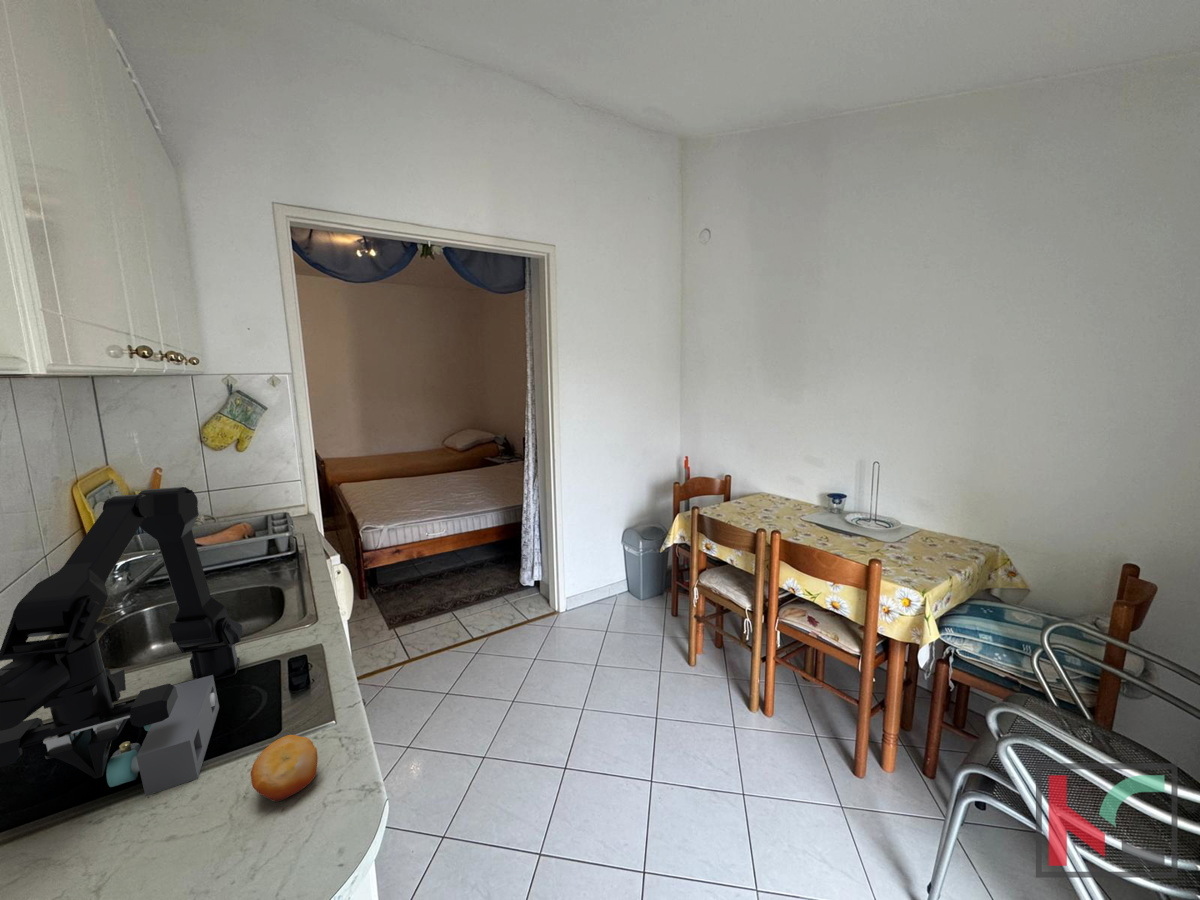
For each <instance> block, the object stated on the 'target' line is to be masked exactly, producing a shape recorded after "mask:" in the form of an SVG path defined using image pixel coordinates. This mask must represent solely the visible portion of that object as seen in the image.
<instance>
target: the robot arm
mask: <svg viewBox="0 0 1200 900" xmlns="http://www.w3.org/2000/svg"><path fill="white" fill-rule="evenodd" d="M198 503H199V501H198V497H197V495H196V494H195V492H194V490H193V489H189V488H188V487H185V486H178V487H165V488H163V487H162V488H149V489H148V488H147V489H143V490H141V491H139V492H138V494H123V495H114V496H112V497H110V498H107V499H106V500H105V501H104V503H103V505H102V511H101V513H100V515H99V516H98V517H97V519H96V520H95V521H94V523H93V525H92V526H91V527H90V529H89V530H88V531H87V532H86V534H85V535H84V537H83V538H82V540H81V541H80V542H79V544H78V545H77V546H76V548H75V550H73V553H72V554H71V555H70V556H69V558H68V560H66V562H65V563H64V565H63V566H61V568H60V569H59V570H58V571H57V572H55V573H53V574H51V575H49V576H48V577H46V578H45V579H42V580H41V581H39V582H38V583H36V584H35V586H33V587H32V588H31V589H30V590H29V591H28V592H27V594H25V595H24V596H23V598H22V599H20V600H19V602H18V603H17V605H16V606H15V608H14V609H13V612H12V616H11V619H10V621H9V625H8V627H7V631H6V633H5V635H4V638H3V641H2V644H1V647H0V662H3V661H10V660H12V661H11V662H9V663H7V664H5V665H4V666H2V667H0V768H2V767H6V766H9V765H13V764H14V763H15V762H17V760H19V758H20V757H21V756H22V755H23V753H24V752H23V749H22V748H24V747H28V746H32V745H35V744H38V743H39V744H40V743H42V742H43V743H42V744H44V745H45V746H46V750H47V751H46V752H45V754H44V757H45V759H46V760H48V759H53V758H55V759H58V760H60V761H63V762H65V763H66V764H67V763H68V764H70V765H72V766H74V767H75V768H77V769H79V770H80V771H82V772H84V774H87V775H88V776H90V777H92V778H93V779H98V778H101V777H103V776H104V774H105V772H106V769H107V765H108V760H109V759H108V758H109V753H110V749H111V745H112V742H113V741H114V740H116V739H117V738H118V737H119V736H120V734H121V732H122V730H124V729H123V728H124V726H125V725H126V723H127V721H128V720H129V721H130V725H132V726H135V727H138V728H142V727H143V728H144V726H147V725H150V724H154V723H157V722H161V721H163V720H165V719H167V718H168V717H169V716H170V714H171V711H172V709H173V707H174V705H175V702H176V700H177V698H178V695H177V690H176V687H175V686H173V685H174V684H171V683H169V682H168V683H165V684H162V685H157V686H153V687H149V688H146V689H142V690H140V691H139V693H138V694H137V696H136V698H135V700H134V701H132V702H128V703H126V702H125V701H123V702H121V703H117V704H114V703H116V702H118V701H119V700H120V698H121V692H124V691H126V689H127V687H126V685H127V684H126V675H125V674H126V673H125V672H126V671H125V668H122V669H117V670H113V671H111V669H109V667H105V665H104V661H103V657H102V653H101V649H100V645H99V640H98V636H97V635H99V634H101V633H102V632H103V631H105V630H106V629H107V628H108V626H109V625H108V623H107V622H102V621H101V622H100V621H98V620H99V617H100V615H101V613H102V611H103V608H104V606H105V604H106V602H107V599H108V597H109V594H108V591H107V586H106V582H107V580H108V578H109V575H110V574H111V572H112V571H113V569H114V568H115V566H116V564H117V563H118V561H119V560H120V558H121V556H122V555H123V553H124V552H125V551H126V548H127V547H128V546H129V544H130V542H131V541H132V540H133V537H135V534H136V533H137V531H138V530H139V528H140V529H141V530H142V531H143V532H145V533H146V534H147V535H149V536H150V537H151V538H153V539H155V540H156V542H157V545H158V548H159V551H160V554H161V557H162V560H163V561H162V562H163V563H164V567H165V570H166V573H167V576H168V579H169V582H170V587H171V589H172V592H173V596H174V598H175V601H176V604H177V609H178V610H177V613H175V616H174V619H173V621H172V622H171V623H170V624H169V625H168V629H169V631H170V633H171V637H172V643H175V645H176V646H177V647H178V649H179V650H180V652H181V654H187V653H191V656H190V659H189V664H190V665H189V666H190V670H191V674H192V675H191V676H192V679H193V680H195V679H199V678H203V677H206V676H210V675H213V677H214V682H215V681H219V680H222V679H226V678H229V677H230V678H231V677H234V676H236V674H237V672H238V667H239V666H240V665H239V663H240V660H241V658H240V657H238V654H237V650H236V645H235V644H238V643H240V642H241V641H242V640H241V637H242V636H243V625H242V624H241V623H240V622H238V621H235V620H233V618H230V616H229V613H228V611H227V609H226V607H225V605H223V604H222V603H220V602H219V601H218V600H216V599H215V598H213V597H212V595H211V593H210V588H209V585H208V582H207V578H206V575H205V572H204V569H203V568H204V567H203V565H202V560H201V558H200V554H199V551H198V547H197V544H196V540H195V536H194V534H193V528H194V526H195V523H196V522H197V520H198V517H199V516H200V515H199V510H198V509H199V508H198V507H199V506H198ZM56 635H58V636H57V637H55V638H48V639H40V640H31V641H28V639H29V638H38V637H45V636H56ZM42 707H43V709H44V710H45V709H49V710H50V713H51V717H52V721H53V723H49V724H45V725H44V722H43V719H42V718H39V717H34V718H30V719H28V718H29V717H30V716H32V715H33V714H35V713H36V712H37V711H38V710H39V709H41V708H42ZM26 719H27V720H26ZM92 729H93V732H94V733H93V735H92Z"/></svg>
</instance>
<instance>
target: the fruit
mask: <svg viewBox="0 0 1200 900" xmlns="http://www.w3.org/2000/svg"><path fill="white" fill-rule="evenodd" d="M318 759H319V757H318V749H317V747H315V745H314V743H313V741H312V740H311V739H310V738H308V737H306V736H301V735H296V734H288V735H285V736H282V737H280V738H278V739H276V740H274V741H273V742H272V743H270V744H269V745H268V746H267V747H266V748H264V749H263V750H262V751H261V752H260V753H259V755H258V756H257V758H256V759H255V761H254V762H253V764H252V767H251V769H250V778H251V779H250V780H251V781H250V782H251V786H252V788H253V789H254V790H255V791H256V792H257V793H258V794H260V795H261V796H263V797H265V798H266V799H268V800H270V801H272V802H281V801H283V800H286V799H288V798H289V797H292V796H293V795H295V794H297V793H299V792H300V791H302V790H303V789H305V787H308V785H309V784H310V783H311V782H312V781H313V780H314V778H315V777H316V774H317V772H318V771H317V770H318V761H319V760H318Z"/></svg>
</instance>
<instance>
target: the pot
mask: <svg viewBox="0 0 1200 900" xmlns="http://www.w3.org/2000/svg"><path fill="white" fill-rule="evenodd" d="M141 746H142V745H141V744H140V743H139V742H135V743H134V742H133V743H131V741H129V740H128V741H127V740H126V741H123V742H122V743H120V745H119V746H118V747H119V748H118V749H117V750H115V752H113V754H112V756H115V755H119V754H122V753H125V752H128V751H132V750H136V751H137V752H139V750H140V748H141ZM112 756H111V757H112Z"/></svg>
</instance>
